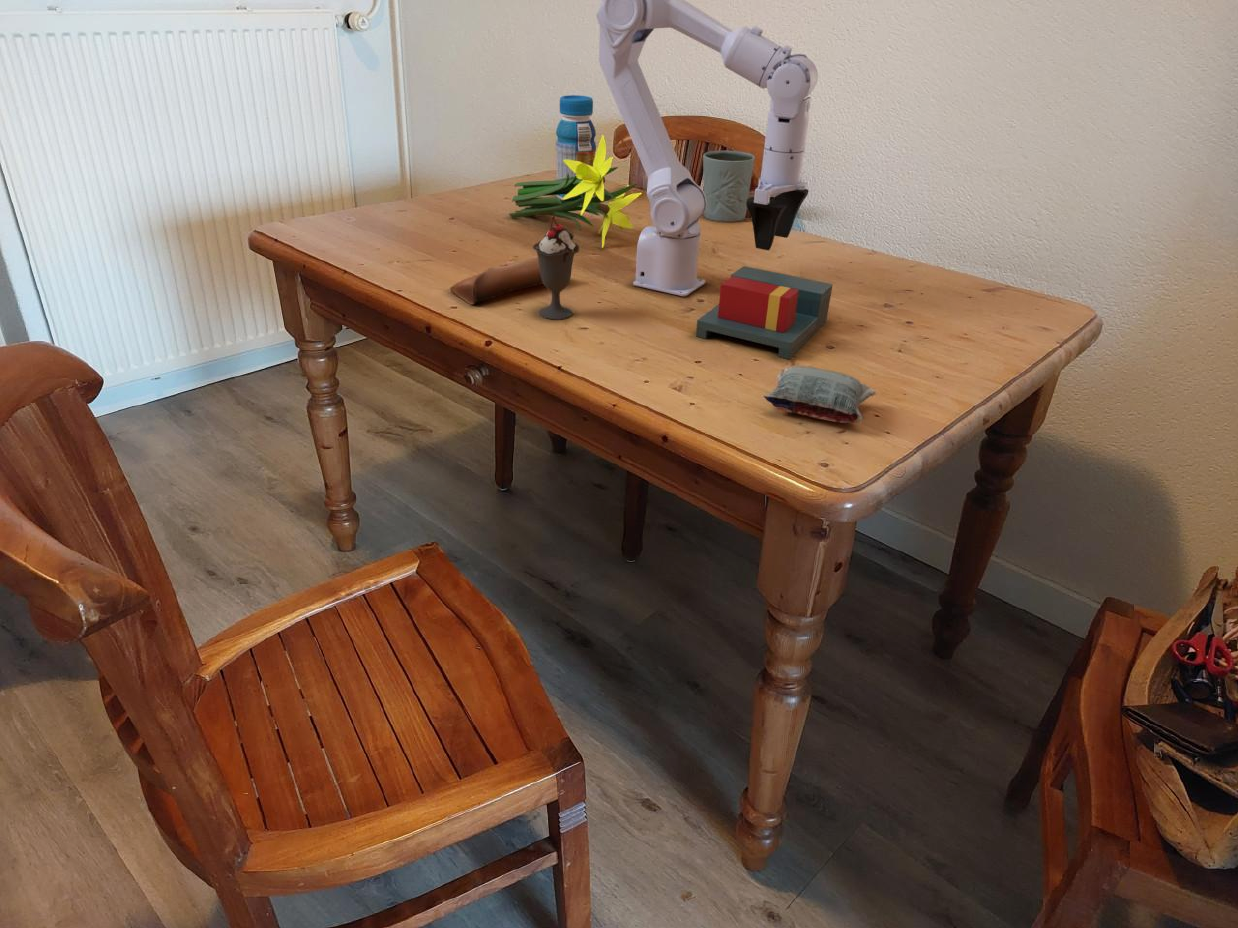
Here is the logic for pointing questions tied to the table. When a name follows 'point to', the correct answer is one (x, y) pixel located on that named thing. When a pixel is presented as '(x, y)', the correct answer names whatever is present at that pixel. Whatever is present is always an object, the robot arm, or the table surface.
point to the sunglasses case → (498, 281)
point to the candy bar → (758, 304)
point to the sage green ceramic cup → (727, 184)
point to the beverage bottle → (575, 134)
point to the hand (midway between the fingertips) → (772, 242)
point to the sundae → (556, 267)
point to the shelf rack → (805, 325)
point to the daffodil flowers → (583, 181)
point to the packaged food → (819, 394)
